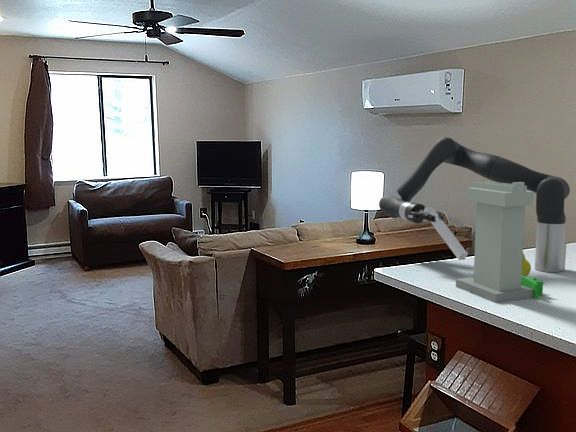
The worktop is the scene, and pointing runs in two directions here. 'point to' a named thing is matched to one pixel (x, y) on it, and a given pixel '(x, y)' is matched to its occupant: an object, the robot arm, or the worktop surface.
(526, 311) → the worktop surface
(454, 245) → the lever bar
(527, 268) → the fruit
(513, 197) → the post
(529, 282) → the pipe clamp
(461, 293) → the worktop surface
